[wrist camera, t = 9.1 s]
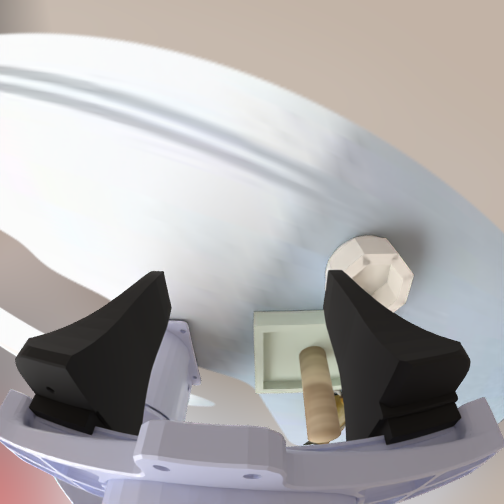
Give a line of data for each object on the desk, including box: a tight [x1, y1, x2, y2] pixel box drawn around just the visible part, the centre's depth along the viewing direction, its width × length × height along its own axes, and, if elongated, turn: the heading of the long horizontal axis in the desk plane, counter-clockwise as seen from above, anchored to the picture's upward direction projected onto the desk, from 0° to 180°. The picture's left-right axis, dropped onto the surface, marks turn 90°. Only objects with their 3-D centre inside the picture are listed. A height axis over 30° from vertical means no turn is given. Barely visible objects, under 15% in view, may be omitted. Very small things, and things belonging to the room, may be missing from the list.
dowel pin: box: [299, 346, 341, 443], centre depth 23 cm, size 3×3×9 cm
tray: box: [254, 310, 342, 394], centre depth 27 cm, size 10×11×2 cm
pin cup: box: [325, 235, 414, 313], centre depth 22 cm, size 6×6×3 cm
